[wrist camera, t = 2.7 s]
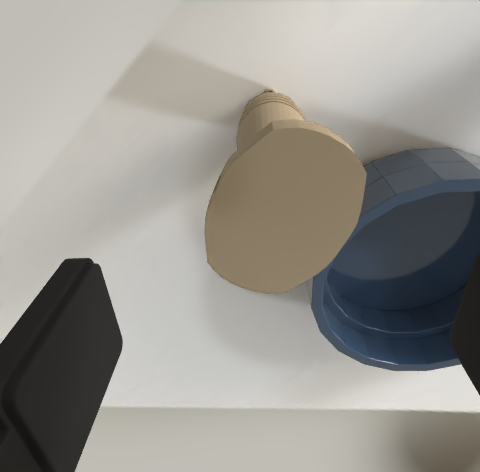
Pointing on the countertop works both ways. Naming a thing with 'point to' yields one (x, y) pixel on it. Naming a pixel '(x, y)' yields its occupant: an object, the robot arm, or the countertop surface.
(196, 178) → the countertop surface
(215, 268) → the handle
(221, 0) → the countertop surface
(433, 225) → the bowl
